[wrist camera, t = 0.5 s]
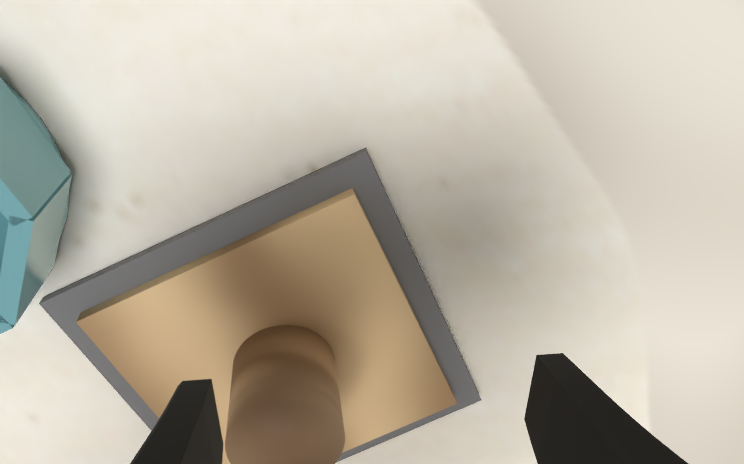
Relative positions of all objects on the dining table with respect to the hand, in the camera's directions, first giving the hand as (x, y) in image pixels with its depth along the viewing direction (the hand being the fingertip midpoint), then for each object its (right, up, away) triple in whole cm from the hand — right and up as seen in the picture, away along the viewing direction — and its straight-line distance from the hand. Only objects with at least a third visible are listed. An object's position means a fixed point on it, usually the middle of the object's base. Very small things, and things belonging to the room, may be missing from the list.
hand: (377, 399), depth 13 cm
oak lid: (-4, -1, +11) cm, 11 cm away
